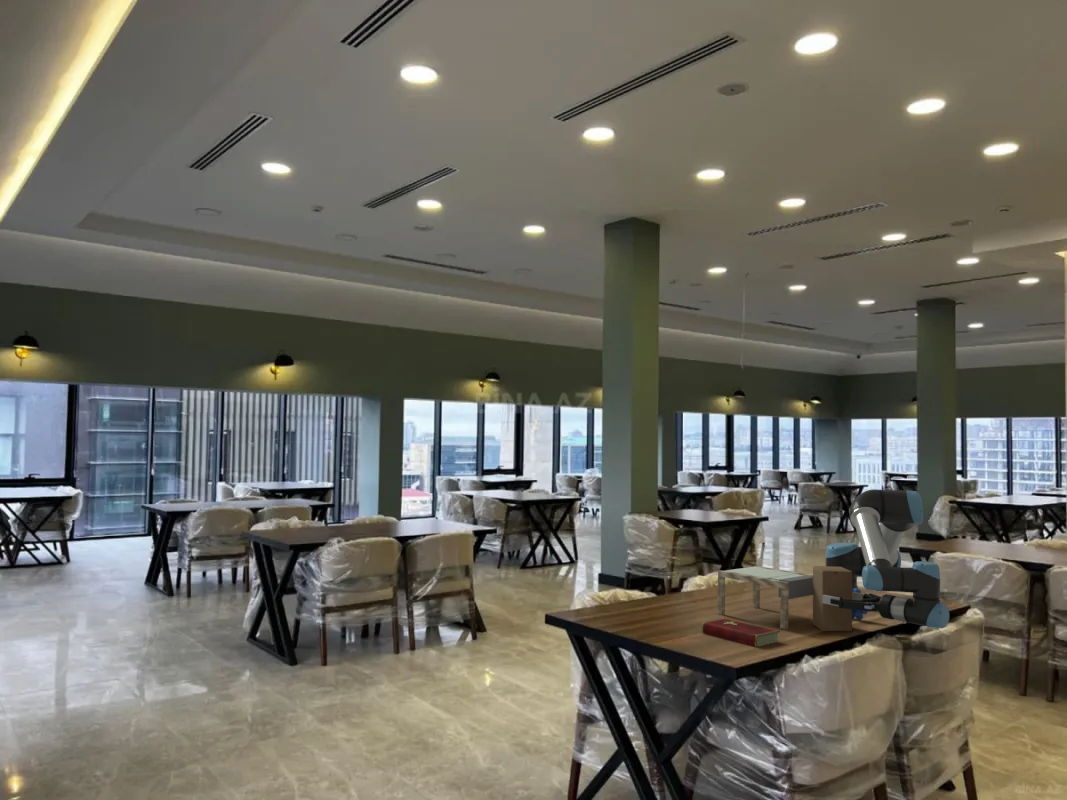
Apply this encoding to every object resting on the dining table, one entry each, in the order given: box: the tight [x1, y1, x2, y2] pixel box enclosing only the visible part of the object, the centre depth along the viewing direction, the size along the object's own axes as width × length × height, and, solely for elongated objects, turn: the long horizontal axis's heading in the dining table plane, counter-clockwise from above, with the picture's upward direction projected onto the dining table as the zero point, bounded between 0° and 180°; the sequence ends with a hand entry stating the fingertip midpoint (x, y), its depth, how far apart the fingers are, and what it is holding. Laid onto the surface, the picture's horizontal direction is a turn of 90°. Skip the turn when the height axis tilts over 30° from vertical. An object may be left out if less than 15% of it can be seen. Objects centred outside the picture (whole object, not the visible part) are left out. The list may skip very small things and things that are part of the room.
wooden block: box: [812, 565, 853, 632], centre depth 275 cm, size 10×10×20 cm
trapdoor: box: [725, 566, 813, 600], centre depth 289 cm, size 26×19×6 cm
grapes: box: [852, 587, 869, 621], centre depth 290 cm, size 12×7×12 cm, turn 43°
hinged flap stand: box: [717, 565, 813, 630], centre depth 289 cm, size 28×23×16 cm
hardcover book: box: [701, 617, 781, 648], centre depth 258 cm, size 12×21×4 cm, turn 39°
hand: (833, 596), depth 274 cm, fingers open, 13 cm apart
